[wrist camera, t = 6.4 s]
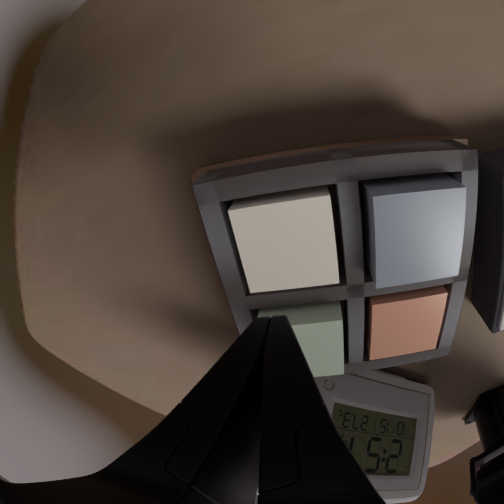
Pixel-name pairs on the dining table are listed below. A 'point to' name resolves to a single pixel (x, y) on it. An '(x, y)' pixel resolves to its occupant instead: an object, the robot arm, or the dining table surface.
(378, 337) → the key terracotta
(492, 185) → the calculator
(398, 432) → the digital clock
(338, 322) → the key sage
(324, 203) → the key cream
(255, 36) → the dining table surface
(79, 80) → the dining table surface
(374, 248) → the key slate
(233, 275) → the keypad
